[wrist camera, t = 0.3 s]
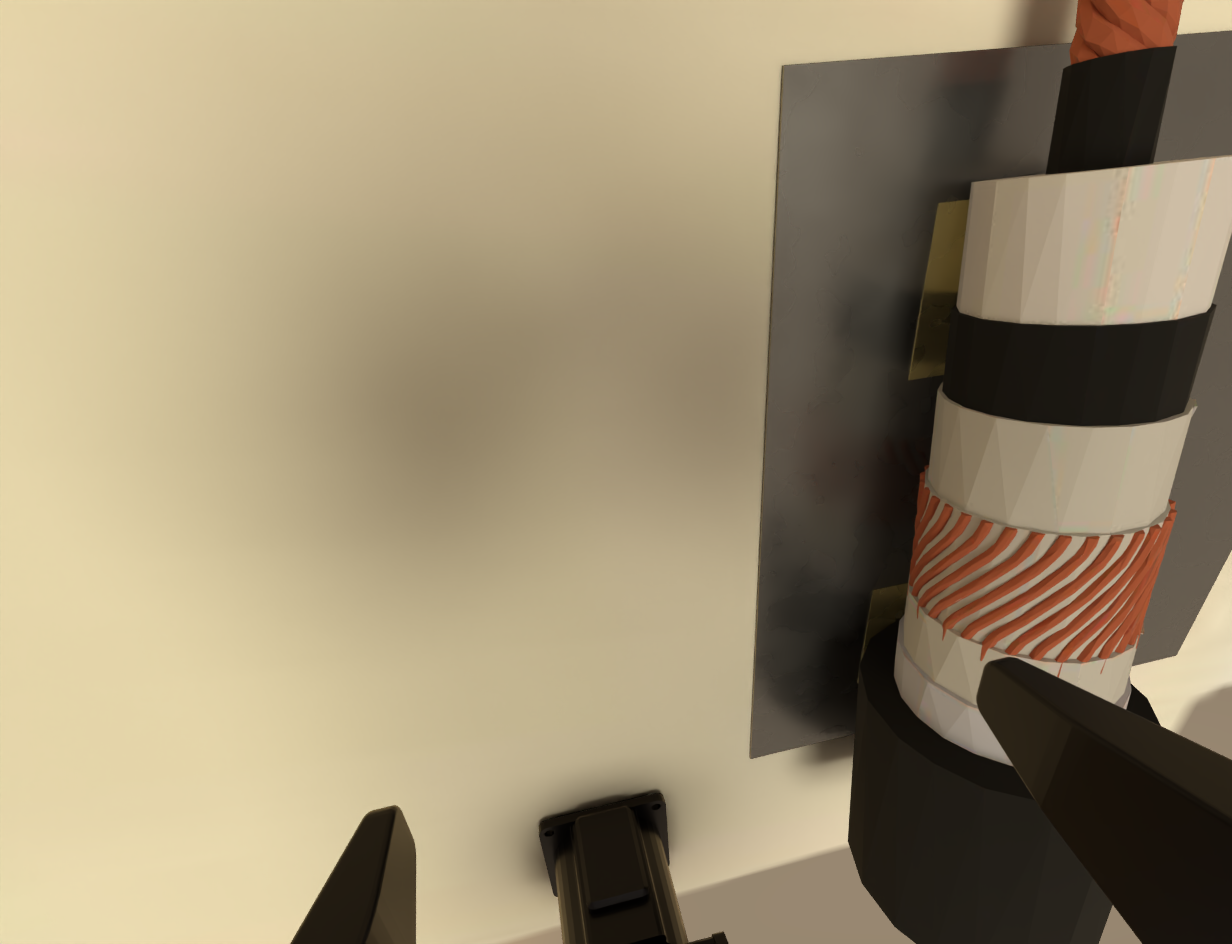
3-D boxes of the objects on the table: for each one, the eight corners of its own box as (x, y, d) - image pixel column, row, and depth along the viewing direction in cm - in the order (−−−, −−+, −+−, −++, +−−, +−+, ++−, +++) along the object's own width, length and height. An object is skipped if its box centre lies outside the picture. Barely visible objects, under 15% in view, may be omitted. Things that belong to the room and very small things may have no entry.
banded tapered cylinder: (1004, 9, 21) (1505, -136, 13) (913, 734, 34) (1137, 866, 27) (834, -28, 15) (1516, -309, 8) (804, 850, 29) (1047, 1057, 21)
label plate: (1174, 654, 35) (1177, 655, 35) (749, 757, 31) (751, 759, 31) (1510, 9, 20) (1517, 8, 20) (782, 66, 17) (784, 64, 16)
